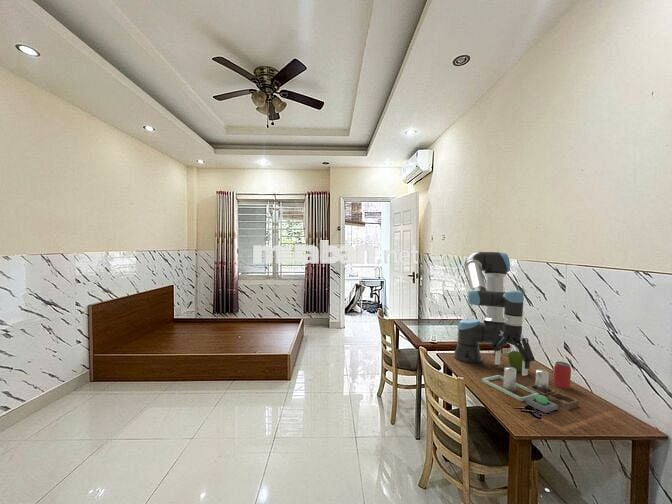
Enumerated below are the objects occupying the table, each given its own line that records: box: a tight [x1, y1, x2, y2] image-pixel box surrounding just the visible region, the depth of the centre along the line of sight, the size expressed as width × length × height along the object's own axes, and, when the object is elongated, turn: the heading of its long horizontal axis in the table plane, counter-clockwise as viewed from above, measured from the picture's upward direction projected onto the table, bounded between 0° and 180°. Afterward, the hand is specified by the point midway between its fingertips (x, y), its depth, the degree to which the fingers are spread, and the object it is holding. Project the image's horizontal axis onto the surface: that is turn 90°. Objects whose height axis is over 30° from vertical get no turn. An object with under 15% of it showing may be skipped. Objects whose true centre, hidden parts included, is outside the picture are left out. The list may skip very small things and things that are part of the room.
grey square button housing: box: [525, 396, 559, 414], centre depth 129 cm, size 8×8×3 cm
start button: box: [536, 395, 548, 406], centre depth 129 cm, size 4×4×3 cm
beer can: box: [552, 361, 572, 390], centre depth 150 cm, size 7×7×12 cm
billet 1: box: [502, 366, 517, 392], centre depth 145 cm, size 5×5×10 cm
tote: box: [480, 374, 540, 402], centre depth 145 cm, size 21×13×2 cm, turn 25°
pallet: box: [524, 384, 582, 411], centre depth 137 cm, size 18×10×3 cm, turn 25°
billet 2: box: [534, 368, 550, 393], centre depth 141 cm, size 5×5×10 cm
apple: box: [507, 350, 524, 373], centre depth 168 cm, size 9×8×12 cm
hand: (510, 369), depth 144 cm, fingers open, 13 cm apart
